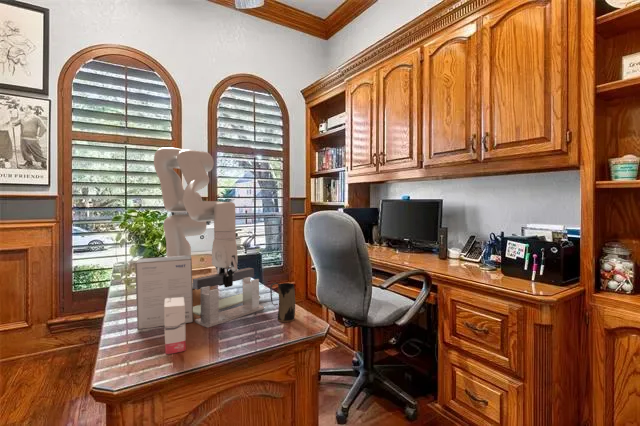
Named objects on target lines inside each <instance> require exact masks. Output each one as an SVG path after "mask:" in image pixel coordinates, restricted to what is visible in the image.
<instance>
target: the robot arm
mask: <svg viewBox="0 0 640 426" xmlns="http://www.w3.org/2000/svg"><path fill="white" fill-rule="evenodd" d="M214 161H215V160H214V158H213V156H212V155H211V154H210V152H208V151H203V150H202V151H200V150H196V149H185V148H177V147H160V148H158V149H157V150H156V151H155V153H154V156H153V167H154V169H155V172H156V175H157V178H158V180H159V183H160V189H161V196H162V201H163V206H164V208H165V211H167V212H170V213H183V214H172V215H170V216H167V217H166V218H165V219H164V221H163V231H164V237H165V243H166V244H165V246H166V247H165V248H166V257H172V256H187V255H191V256H192V248H191V244H190V242H189V241H188V239H187V237H196V236H200V235H203V234H204V233H205V232H206V231H207V222H213V236H214V237H213V238H214V239H213V242H212V246H211V247H212V248H211V249H212V250H211V265H212V266H214V268H215V269H216V274H220V273H225V276H224V284H220V285H218V286H223V287H224V288H229V287H233V285H234V281H233V275H234V272H235V271H236V270H239V269H238V260H239V259H238V246H237V241H236V236H237V235H236V232H237V231H236V229H237V228H236V226H237V225H236V221H237V220H236V204H235V203H234V202H231V201H220V200H217V201H215V200H213V201H212V200H203V198H202V195H200V193H199V192H198V191H200V190H202V189H204V188H206V187H207V186H208V185H209V183H210V176H209V175H208V172H211V171H212V170H213V168H214V164H215V163H214ZM174 169H179V170H180V171H181V174H182V176H183V179H184V180H185V182H186V184H187V185H186V187H185V189H184V187H183V181H182V178H181V177H180V175H179V174H178V173H177V172H176V171H175V170H174ZM184 213H185V214H184ZM186 213H187V214H186ZM192 290H194V289H193V282H192Z"/></svg>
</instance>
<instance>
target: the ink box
mask: <svg viewBox="0 0 640 426" xmlns="http://www.w3.org/2000/svg"><path fill="white" fill-rule="evenodd" d="M163 327H164V348H165V349H164V350H165V351H164V352H165V355H170V354H176V353H182V352H185V351H187V348H186V341H187V339H186V337H187V336H186V334H187V333H186V323H185V303H184V297H177V298H166V299H165V302H164V326H163Z"/></svg>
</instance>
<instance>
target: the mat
mask: <svg viewBox="0 0 640 426" xmlns="http://www.w3.org/2000/svg"><path fill="white" fill-rule="evenodd" d="M260 298H261V295H259V299H260ZM239 303H240V304H243V292H242V293H239V294H236V295H232V296H227V297H224V298H221V299H220V298H219V310H223V309H225V308H229V307H232V306H235V305H236V306H237V305H239ZM193 315H197V316H201V304H197V305H195V306H194V305H193Z"/></svg>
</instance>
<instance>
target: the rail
mask: <svg viewBox="0 0 640 426" xmlns="http://www.w3.org/2000/svg"><path fill="white" fill-rule="evenodd" d="M224 276H225V273H220V274H217V273H216V274H211V275H205V276H201V277H197V278H196V277H195V278H192V283H193V289H192V290H196V291H197V290H200V288H203V287H207V286H210V288H211V287H216V286H219V285H220V284H224ZM247 277H250V279H251V278H254V277H255V268H252V267H245V268H241V269H237V270H236V271H235V272H234V275H233V282H237V281H243V278H247Z"/></svg>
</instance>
